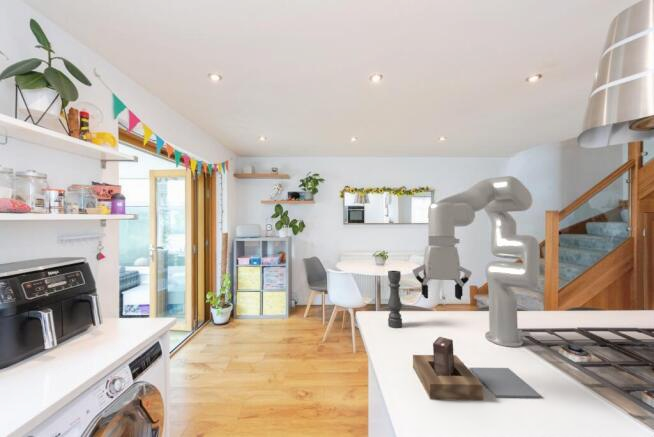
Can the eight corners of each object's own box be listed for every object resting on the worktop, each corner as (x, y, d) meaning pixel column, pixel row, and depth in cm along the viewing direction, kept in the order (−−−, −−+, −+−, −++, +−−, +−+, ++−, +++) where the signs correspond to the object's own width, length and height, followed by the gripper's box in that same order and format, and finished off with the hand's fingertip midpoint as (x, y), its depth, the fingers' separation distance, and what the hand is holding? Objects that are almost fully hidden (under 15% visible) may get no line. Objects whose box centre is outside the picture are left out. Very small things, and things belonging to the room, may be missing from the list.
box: (439, 374, 83) (438, 335, 83) (455, 380, 80) (454, 339, 80) (433, 383, 79) (432, 342, 79) (449, 389, 76) (448, 346, 76)
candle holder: (394, 329, 119) (393, 273, 120) (385, 324, 125) (384, 271, 125) (404, 326, 122) (404, 272, 123) (395, 322, 128) (394, 270, 128)
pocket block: (456, 367, 87) (455, 355, 87) (483, 399, 71) (482, 384, 71) (413, 367, 88) (412, 354, 88) (430, 399, 72) (429, 384, 72)
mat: (508, 369, 86) (508, 367, 86) (541, 398, 72) (541, 395, 72) (470, 369, 86) (470, 367, 86) (496, 397, 72) (496, 395, 72)
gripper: (465, 242, 86) (466, 296, 85) (410, 241, 88) (410, 294, 87) (476, 243, 78) (476, 302, 78) (415, 242, 80) (415, 300, 79)
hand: (441, 298), depth 82 cm, fingers open, 9 cm apart
